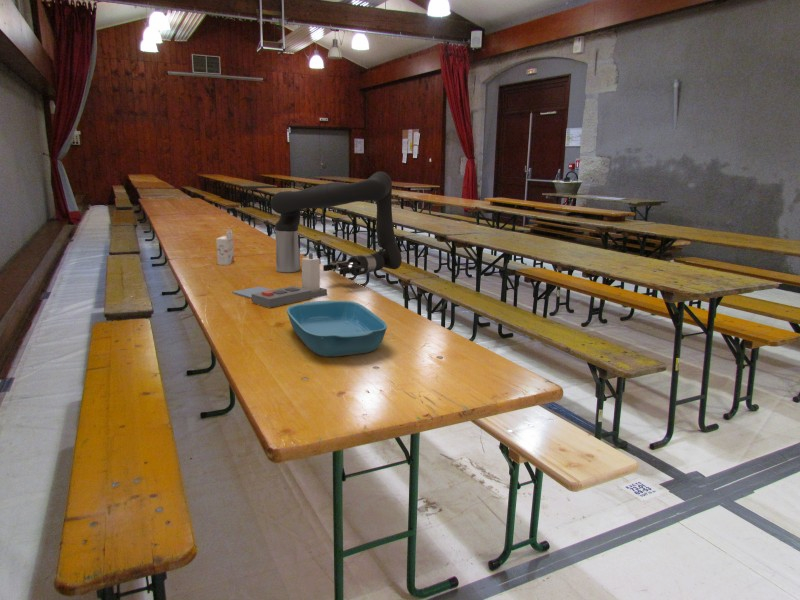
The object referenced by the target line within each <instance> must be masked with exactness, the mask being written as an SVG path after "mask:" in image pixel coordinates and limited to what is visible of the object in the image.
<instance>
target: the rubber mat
mask: <svg viewBox="0 0 800 600" xmlns="http://www.w3.org/2000/svg"><path fill="white" fill-rule="evenodd" d="M270 290H272V289H271V288H267V287H263V286H256V287H255V286H254V287H249V288H244V289H239V290H238V289H237V290H234V291H232V292H231V293H232V294H233V293H234V295H236V294H237V296H240V295H241V296H240V297H243V296H244V297H243V298H247V297H248V298H247V299H250V298H252V294H254V293H259V292H264V291H270Z"/></svg>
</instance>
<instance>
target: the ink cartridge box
mask: <svg viewBox="0 0 800 600" xmlns="http://www.w3.org/2000/svg"><path fill="white" fill-rule="evenodd" d="M233 234H234V233H233V230H232V229H230V230H227V231H226V232H225V235H222V236H219V237H217V238H216V239H215V241H216V255H217V257H216V258H217V265H218V266H230V265H231V264H232V262H233V263H234V262H235V256H234V253H235V251H234V235H233ZM229 264H230V265H229Z"/></svg>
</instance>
